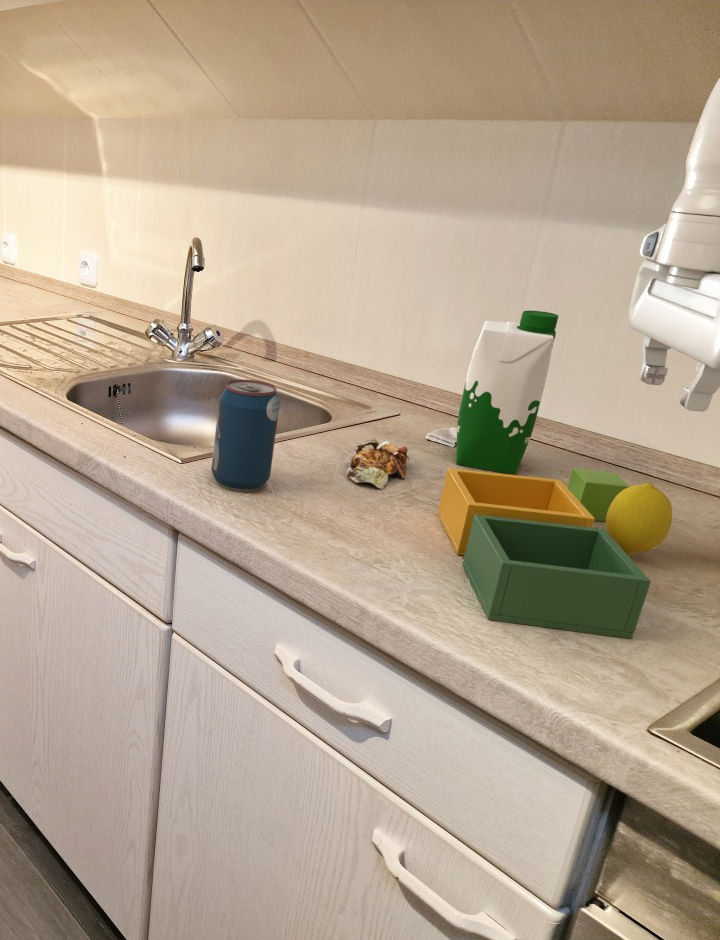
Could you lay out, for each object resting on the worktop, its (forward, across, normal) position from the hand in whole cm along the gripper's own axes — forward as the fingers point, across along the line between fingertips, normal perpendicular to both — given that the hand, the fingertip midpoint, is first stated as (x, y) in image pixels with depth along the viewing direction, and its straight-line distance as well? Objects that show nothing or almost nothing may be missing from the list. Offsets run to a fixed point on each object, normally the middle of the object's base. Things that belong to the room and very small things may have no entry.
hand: (670, 395), depth 83 cm
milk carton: (+17, +25, +8) cm, 31 cm away
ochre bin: (+17, -1, +12) cm, 21 cm away
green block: (+17, +10, 0) cm, 20 cm away
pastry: (+17, +16, +23) cm, 33 cm away
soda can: (+17, +7, +40) cm, 44 cm away
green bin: (+17, -14, +12) cm, 25 cm away
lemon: (+17, -1, 0) cm, 17 cm away
